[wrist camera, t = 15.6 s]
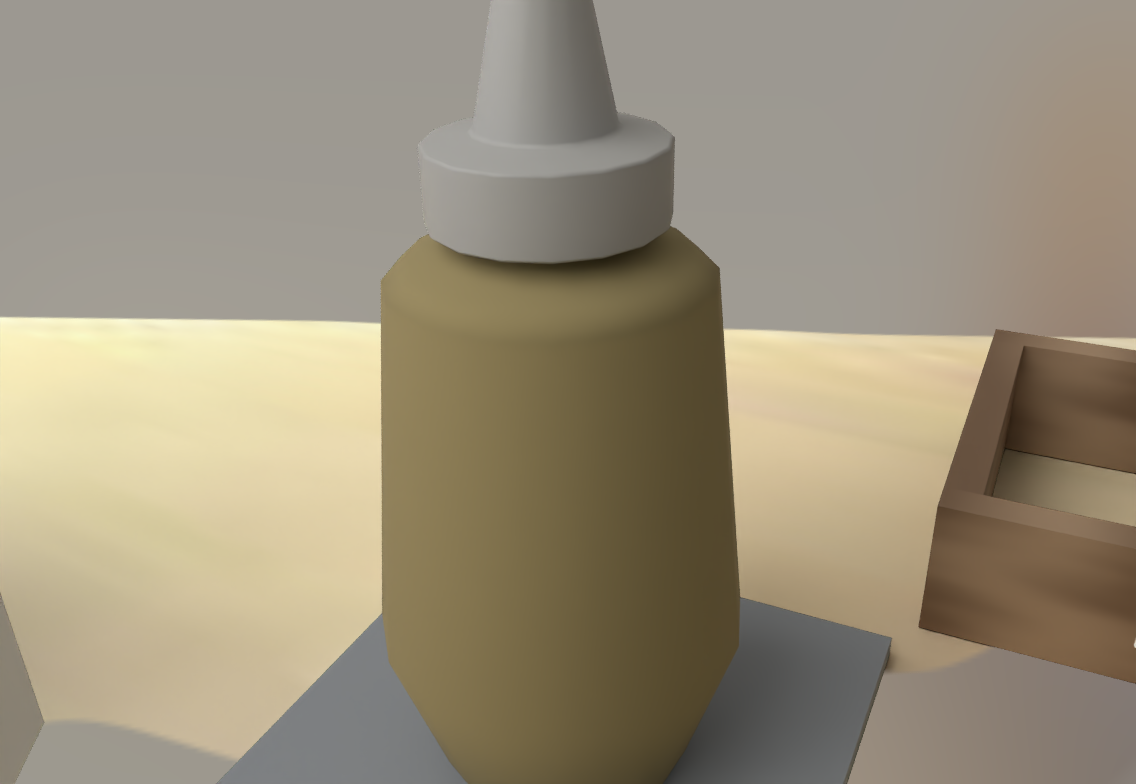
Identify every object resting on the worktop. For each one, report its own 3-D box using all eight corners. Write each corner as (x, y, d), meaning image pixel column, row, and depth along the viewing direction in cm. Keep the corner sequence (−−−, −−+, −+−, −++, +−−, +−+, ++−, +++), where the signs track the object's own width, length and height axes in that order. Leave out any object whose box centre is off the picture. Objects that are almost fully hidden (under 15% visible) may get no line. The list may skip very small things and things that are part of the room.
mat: (889, 655, 29) (891, 638, 29) (736, 1119, 19) (737, 1100, 19) (469, 539, 34) (468, 524, 34) (169, 855, 24) (164, 837, 24)
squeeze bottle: (707, 612, 30) (738, -106, 22) (766, 860, 23) (849, -70, 14) (412, 626, 30) (329, -94, 21) (379, 880, 23) (234, -51, 14)
